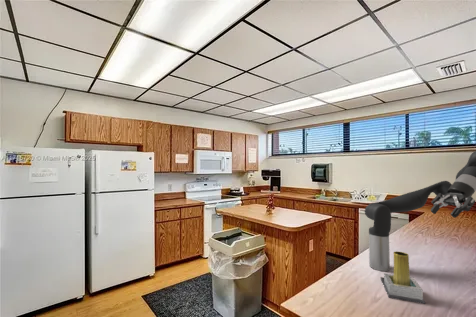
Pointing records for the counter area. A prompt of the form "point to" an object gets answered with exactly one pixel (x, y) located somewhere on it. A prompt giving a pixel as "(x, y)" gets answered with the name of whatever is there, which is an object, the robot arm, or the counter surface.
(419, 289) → the grey tray
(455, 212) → the robot arm
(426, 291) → the counter surface
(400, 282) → the vase
